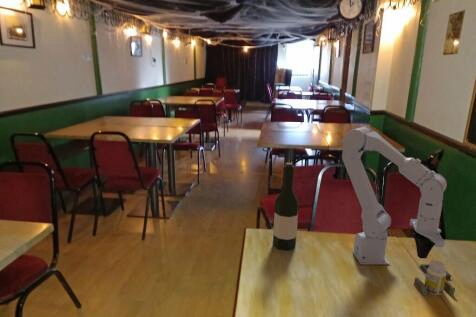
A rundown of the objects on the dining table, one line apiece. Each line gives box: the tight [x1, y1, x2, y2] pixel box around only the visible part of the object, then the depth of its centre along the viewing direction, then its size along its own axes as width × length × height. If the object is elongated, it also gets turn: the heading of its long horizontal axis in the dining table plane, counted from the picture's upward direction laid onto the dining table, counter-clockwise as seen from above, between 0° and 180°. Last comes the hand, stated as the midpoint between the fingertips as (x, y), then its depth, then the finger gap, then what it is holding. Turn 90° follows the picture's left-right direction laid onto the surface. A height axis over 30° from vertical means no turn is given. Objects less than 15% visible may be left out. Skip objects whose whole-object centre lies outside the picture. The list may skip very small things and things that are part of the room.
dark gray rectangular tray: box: [419, 263, 452, 280], centre depth 106 cm, size 6×6×1 cm
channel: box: [413, 277, 456, 297], centre depth 97 cm, size 9×5×2 cm, turn 92°
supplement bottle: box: [424, 260, 447, 296], centre depth 96 cm, size 5×5×8 cm
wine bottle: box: [272, 162, 300, 252], centre depth 118 cm, size 8×8×30 cm
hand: (421, 257), depth 103 cm, fingers closed
